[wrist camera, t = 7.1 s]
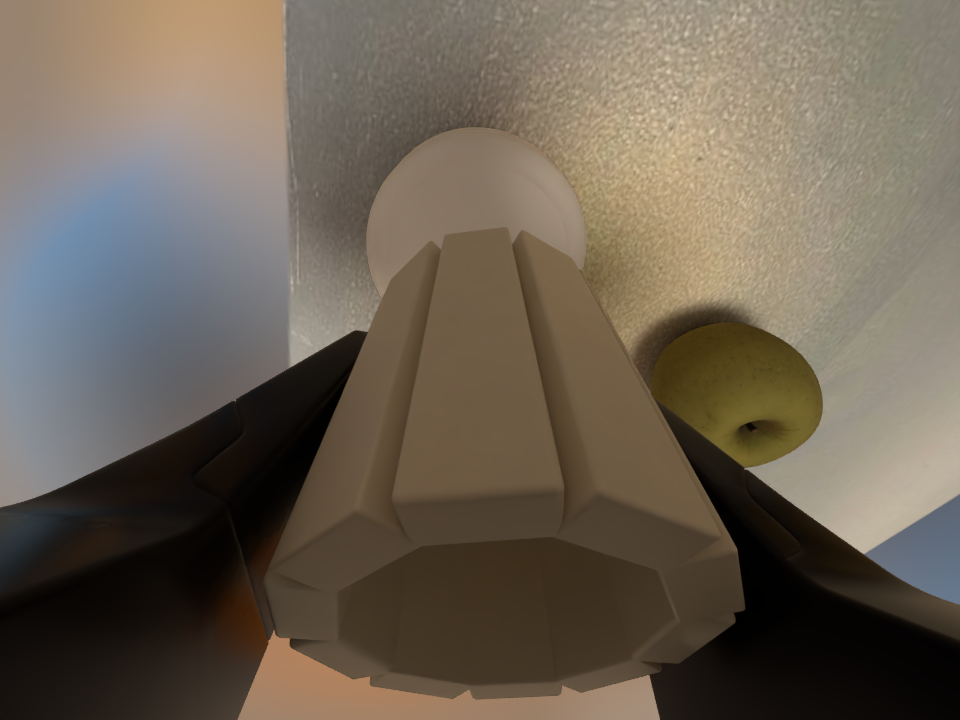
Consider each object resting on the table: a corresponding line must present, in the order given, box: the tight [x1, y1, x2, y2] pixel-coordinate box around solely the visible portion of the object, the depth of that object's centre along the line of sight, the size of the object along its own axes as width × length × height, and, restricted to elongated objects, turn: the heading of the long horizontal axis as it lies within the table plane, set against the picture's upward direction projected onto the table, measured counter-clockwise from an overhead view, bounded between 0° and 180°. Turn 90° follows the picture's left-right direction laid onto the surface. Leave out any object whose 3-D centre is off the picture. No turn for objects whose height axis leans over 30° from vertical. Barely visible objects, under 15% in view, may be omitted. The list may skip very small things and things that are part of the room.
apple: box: [652, 323, 823, 468], centre depth 22 cm, size 8×8×7 cm
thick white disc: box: [366, 127, 587, 298], centre depth 19 cm, size 10×10×4 cm
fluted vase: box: [263, 227, 745, 699], centre depth 8 cm, size 6×6×7 cm
